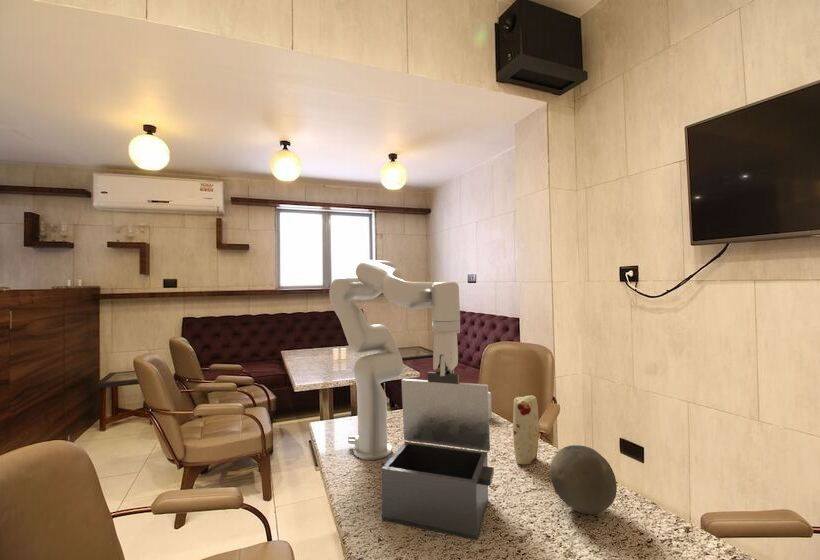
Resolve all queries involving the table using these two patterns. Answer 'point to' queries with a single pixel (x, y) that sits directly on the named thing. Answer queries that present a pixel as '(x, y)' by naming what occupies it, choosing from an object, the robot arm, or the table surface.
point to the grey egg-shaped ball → (583, 479)
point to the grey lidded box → (436, 488)
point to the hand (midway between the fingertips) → (447, 395)
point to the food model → (525, 429)
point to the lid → (446, 412)
